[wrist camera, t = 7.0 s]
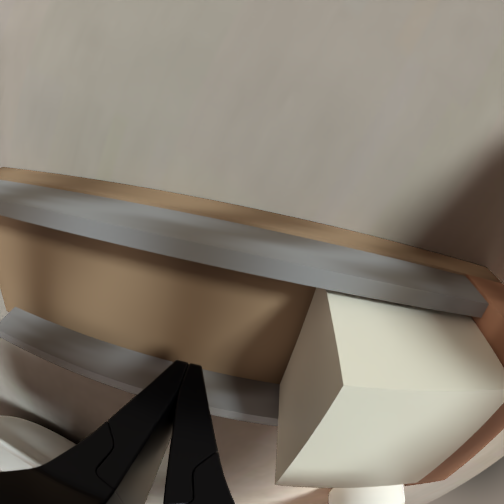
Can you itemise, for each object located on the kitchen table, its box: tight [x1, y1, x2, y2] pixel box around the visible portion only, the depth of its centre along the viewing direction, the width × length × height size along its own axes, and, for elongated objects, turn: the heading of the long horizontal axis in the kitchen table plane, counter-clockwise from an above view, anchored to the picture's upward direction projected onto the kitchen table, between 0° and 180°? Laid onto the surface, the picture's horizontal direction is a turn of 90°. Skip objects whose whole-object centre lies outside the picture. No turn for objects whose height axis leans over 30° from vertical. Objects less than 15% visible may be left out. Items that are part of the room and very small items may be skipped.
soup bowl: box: [0, 415, 76, 471], centre depth 22 cm, size 24×24×7 cm
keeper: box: [275, 287, 504, 488], centre depth 10 cm, size 6×6×5 cm
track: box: [0, 167, 504, 486], centre depth 11 cm, size 24×8×6 cm, turn 79°
